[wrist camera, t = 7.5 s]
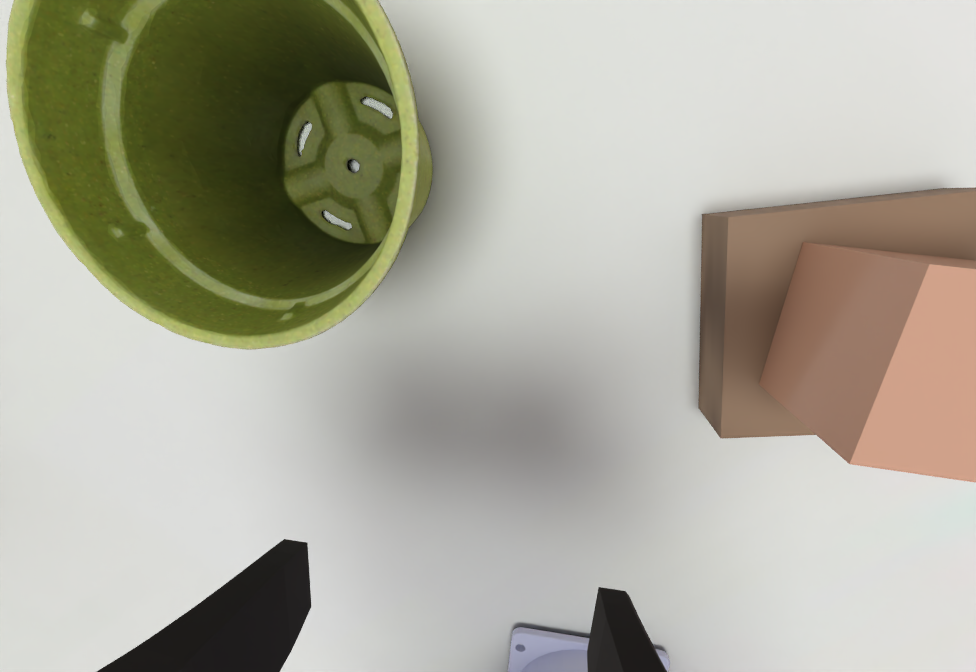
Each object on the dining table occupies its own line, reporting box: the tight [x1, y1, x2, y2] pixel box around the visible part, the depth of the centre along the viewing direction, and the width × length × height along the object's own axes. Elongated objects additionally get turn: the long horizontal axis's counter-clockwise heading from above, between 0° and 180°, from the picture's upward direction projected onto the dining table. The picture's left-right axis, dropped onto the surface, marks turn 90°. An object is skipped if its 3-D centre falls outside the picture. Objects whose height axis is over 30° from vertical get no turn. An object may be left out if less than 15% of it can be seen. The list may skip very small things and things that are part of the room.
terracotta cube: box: [759, 242, 976, 482], centre depth 13 cm, size 5×5×5 cm
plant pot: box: [6, 0, 433, 349], centre depth 14 cm, size 9×9×9 cm
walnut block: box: [699, 188, 976, 438], centre depth 16 cm, size 8×8×3 cm
